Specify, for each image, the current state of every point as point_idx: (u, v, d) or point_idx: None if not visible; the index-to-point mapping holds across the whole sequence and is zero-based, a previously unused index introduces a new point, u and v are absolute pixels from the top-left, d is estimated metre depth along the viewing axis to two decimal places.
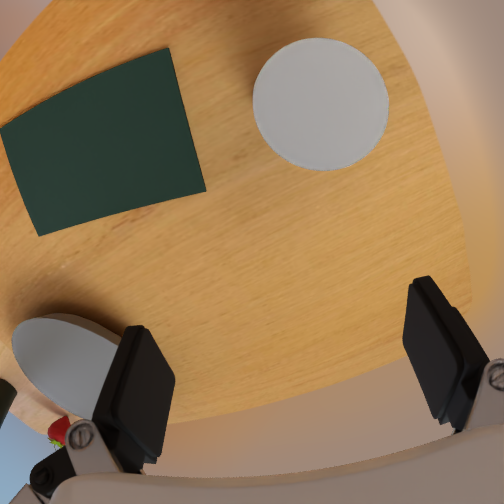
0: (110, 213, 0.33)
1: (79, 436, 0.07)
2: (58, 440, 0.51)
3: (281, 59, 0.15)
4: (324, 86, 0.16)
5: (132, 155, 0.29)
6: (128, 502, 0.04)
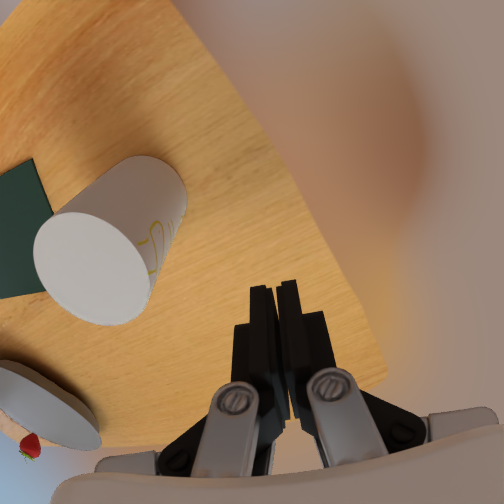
0: (23, 293, 0.33)
1: (231, 401, 0.07)
2: (27, 453, 0.52)
3: (43, 237, 0.16)
4: (81, 259, 0.17)
5: (26, 251, 0.30)
6: (128, 502, 0.04)
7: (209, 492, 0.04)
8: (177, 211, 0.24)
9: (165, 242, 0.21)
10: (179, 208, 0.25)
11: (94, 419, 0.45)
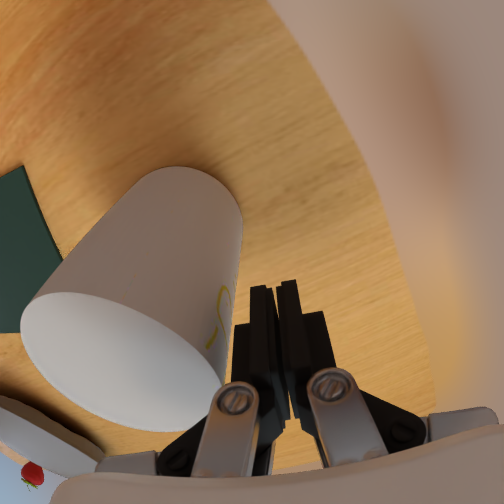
0: (19, 330, 0.26)
1: (231, 401, 0.07)
2: (30, 481, 0.44)
3: (34, 321, 0.09)
4: (102, 360, 0.10)
5: (20, 284, 0.23)
6: (128, 502, 0.04)
7: (209, 492, 0.04)
8: (238, 255, 0.17)
9: (232, 314, 0.14)
10: (239, 249, 0.18)
11: None
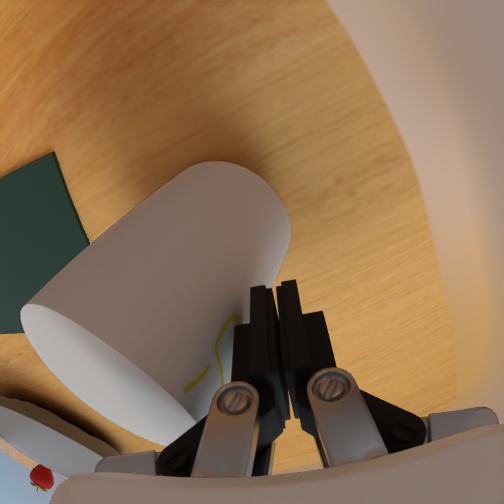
0: None
1: (231, 401, 0.07)
2: (39, 485, 0.44)
3: (29, 321, 0.09)
4: (89, 372, 0.09)
5: (43, 281, 0.23)
6: (128, 502, 0.04)
7: (209, 492, 0.04)
8: (273, 271, 0.15)
9: None
10: (277, 263, 0.16)
11: None
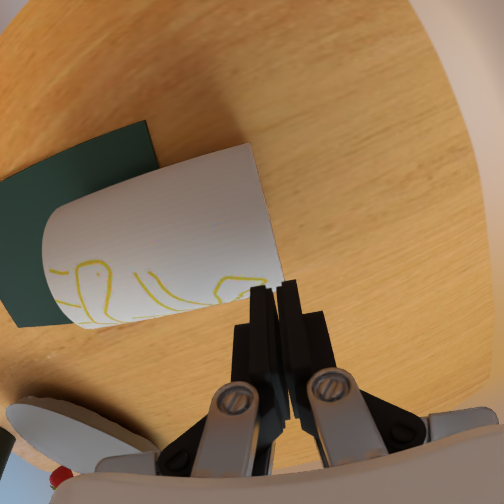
0: None
1: (231, 401, 0.07)
2: None
3: None
4: None
5: None
6: (128, 502, 0.04)
7: (209, 492, 0.04)
8: (191, 265, 0.14)
9: (116, 291, 0.15)
10: (208, 263, 0.14)
11: None
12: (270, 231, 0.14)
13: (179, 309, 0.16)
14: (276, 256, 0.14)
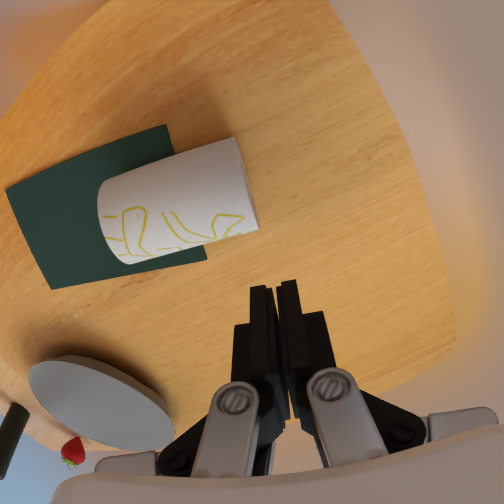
0: (118, 275, 0.36)
1: (231, 401, 0.07)
2: (71, 459, 0.53)
3: None
4: None
5: None
6: (128, 502, 0.04)
7: (209, 492, 0.04)
8: (197, 206, 0.23)
9: (149, 226, 0.24)
10: (207, 204, 0.23)
11: (169, 414, 0.47)
12: (244, 184, 0.23)
13: (188, 241, 0.25)
14: (248, 200, 0.23)
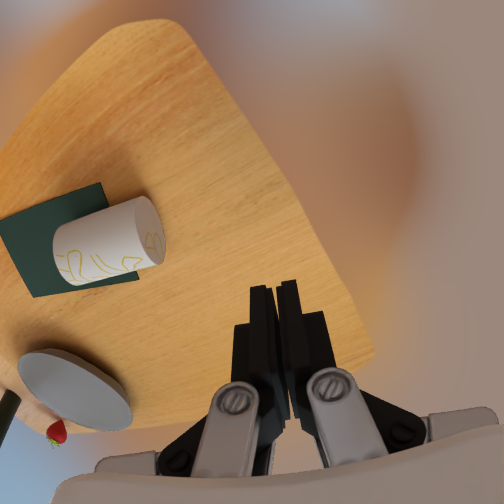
0: (79, 288, 0.45)
1: (231, 401, 0.07)
2: (54, 439, 0.63)
3: None
4: None
5: None
6: (128, 502, 0.04)
7: (209, 492, 0.04)
8: (111, 251, 0.32)
9: (83, 263, 0.33)
10: (117, 250, 0.32)
11: (127, 399, 0.57)
12: (138, 237, 0.32)
13: (111, 272, 0.34)
14: (142, 247, 0.32)
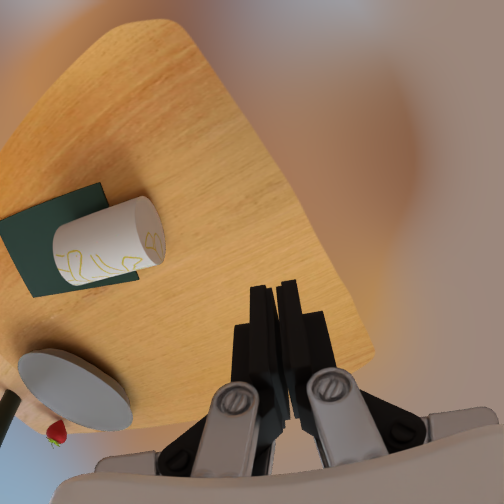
0: (79, 288, 0.45)
1: (231, 401, 0.07)
2: (54, 439, 0.63)
3: None
4: None
5: None
6: (128, 502, 0.04)
7: (209, 492, 0.04)
8: (111, 251, 0.32)
9: (83, 263, 0.33)
10: (117, 250, 0.32)
11: (127, 399, 0.57)
12: (138, 237, 0.32)
13: (111, 272, 0.34)
14: (142, 247, 0.32)
